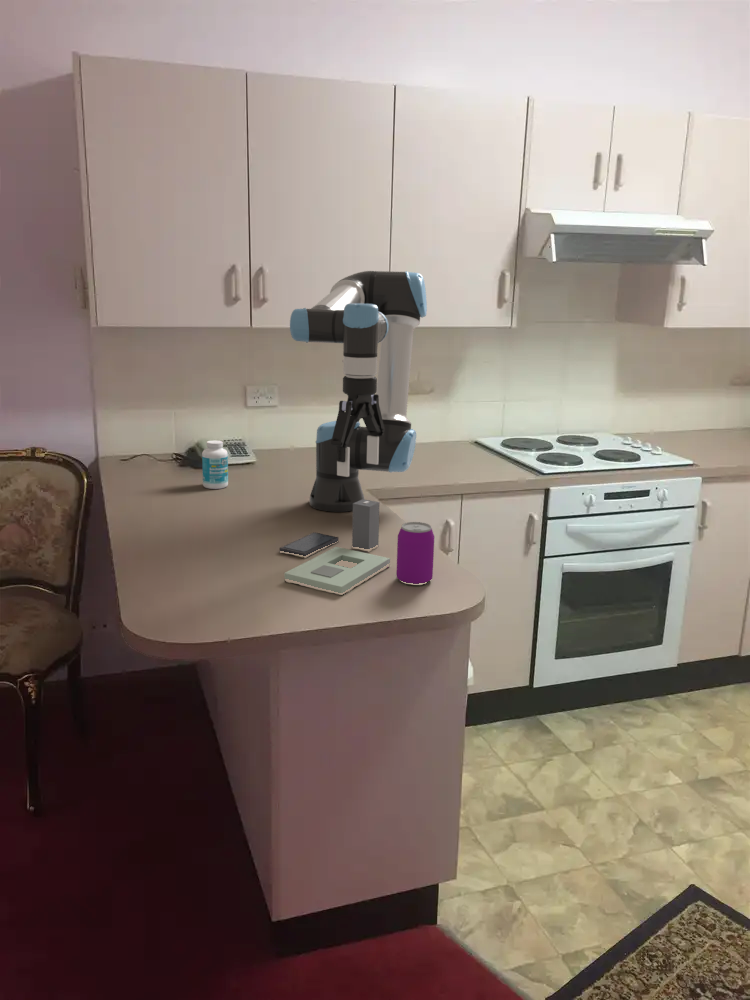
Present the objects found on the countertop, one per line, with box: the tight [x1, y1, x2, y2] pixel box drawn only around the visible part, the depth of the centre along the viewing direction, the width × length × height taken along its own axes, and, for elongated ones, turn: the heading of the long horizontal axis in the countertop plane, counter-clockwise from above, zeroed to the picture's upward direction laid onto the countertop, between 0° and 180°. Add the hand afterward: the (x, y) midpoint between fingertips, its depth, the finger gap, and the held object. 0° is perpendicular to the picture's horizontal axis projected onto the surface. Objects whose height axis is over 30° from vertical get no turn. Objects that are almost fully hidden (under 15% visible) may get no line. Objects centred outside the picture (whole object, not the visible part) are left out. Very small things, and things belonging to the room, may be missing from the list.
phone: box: [279, 532, 339, 556], centre depth 190 cm, size 14×7×1 cm, turn 150°
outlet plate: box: [283, 546, 391, 593], centre depth 174 cm, size 20×14×2 cm
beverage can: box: [395, 521, 435, 584], centre depth 170 cm, size 8×8×12 cm
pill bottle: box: [201, 440, 229, 490], centre depth 239 cm, size 8×7×14 cm
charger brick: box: [351, 498, 381, 549], centre depth 189 cm, size 4×4×11 cm
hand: (358, 469), depth 185 cm, fingers open, 13 cm apart
